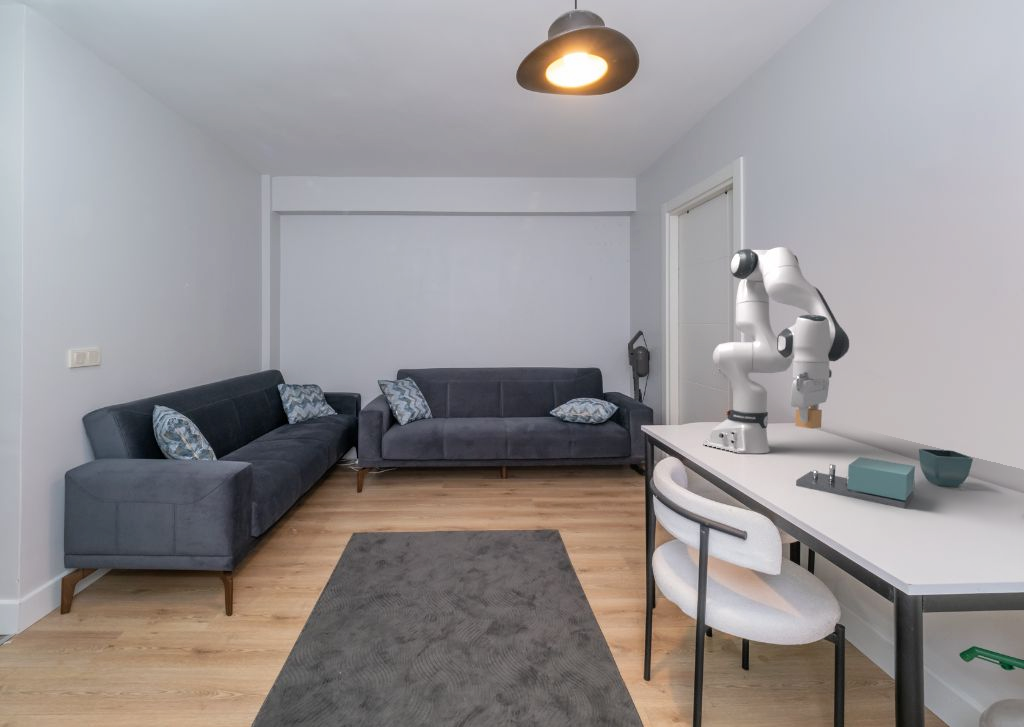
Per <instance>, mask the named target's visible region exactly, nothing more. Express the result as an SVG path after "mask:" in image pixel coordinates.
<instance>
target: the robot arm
mask: <svg viewBox="0 0 1024 727" xmlns="http://www.w3.org/2000/svg"><path fill="white" fill-rule="evenodd" d="M799 264H800V263H799V259H798V257H797V255H795V254H794V253H793V252H792V250H790V249H789V248H787V247H784V246H783V247H782V246H777V247H773V248H771V249H750V248H746V249H745V248H744V249H739V250H737V251H736V252H735V253H734V254H733V257H732V259H731V262H730V272H731V274H732V276H733V277H734V278H736V279H739V280H740V282H739V283H738V287H737V291H736V297H735V322H734V323H735V326H736V329H738V330H739V331H740V332H741V333H744V334H746V335H748V336H750V337H751V338H752V339H753V341H749V342H748V341H730V342H724V343H723V342H722V343H719V344H718V345H717V346H716V347H715V348H714V351H713V352H712V362H713V364H714V366H715V367H716V368H717V369H718V370H719V371H721V372H722V373H723V374H724V376H725V377H727V379H728V381H729V383H730V386H731V389H732V390H731V391H732V408H731V409H729V410H727V411H725V416H727V418H726V419H725V420H723V421H722V422H720V423H718V424H717V425H715V426H714V427H713V428H711V431H710V434H709V438H707V439H705V440H703V442H702V445H703V444H704V445H703V446H705V445H707V446H706V447H709V446H712V447H711V448H713V447H716V448H715V449H717V448H721V449H720V450H722V449H725V450H724V451H726V450H729V451H728V452H730V451H733V452H732V453H734V452H737V453H736V454H767V453H770V452H771V449H770V446H769V440H768V432H767V430H768V429H767V428H768V424H769V416H768V414H769V413H768V410H767V408H768V407H767V405H768V404H767V403H768V391H767V389H766V387H764V386H763V385H761V384H760V383H758V382H756V381H753V380H752V379H751V378H749V374H754V373H755V374H756V373H757V374H758V373H760V374H775V373H777V374H778V373H782V372H786V371H788V369H789V368H790V367H791V365H792V376H791V377H792V379H793V378H794V380H792V384H791V389H790V390H791V392H790V405H791V408H792V407H793V408H799V413H800V421H801V422H808V421H809V416H808V410H809V408H811V409H819V407H820V404H822V403H823V404H824V403H826V401H827V399H828V394H829V389H830V388H829V387H830V379H831V378H832V376H833V375H832V374H833V371H832V370H831V369H830V362H837V361H839V360H840V359H841V358H843V357H844V356H845V355H846V354H847V353H848V351H849V349H850V339H849V336H848V334H847V333H846V331H845V330H844V328H842V326H840V324H839V323H838V321H837V319H836V317H835V315H834V313H833V312H832V310H831V308H830V306H829V304H828V302H827V301H826V299H825V297H824V295H823V294H822V292H821V291H820V290H819V289H818V288H817V287H815V286H813V284H811V283H810V282H809V281H808V280H807V279H806V278H805V276H804V275H803V273H802V270H801V267H800V265H799ZM770 299H772V300H773V301H775V302H777V303H780V304H782V305H787V306H791V307H796V308H799V309H801V310H804V311H805V312H807V313H808V314H802V315H799V316H797V318H796V320H795V322H794V324H793V325H791V326H789V327H788V328H787V327H786V328H785V329H783V330H782V331H781V332H779V334H778V335H776V334H775V333H774V331H773V330H772V325H771V320H770Z"/></svg>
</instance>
